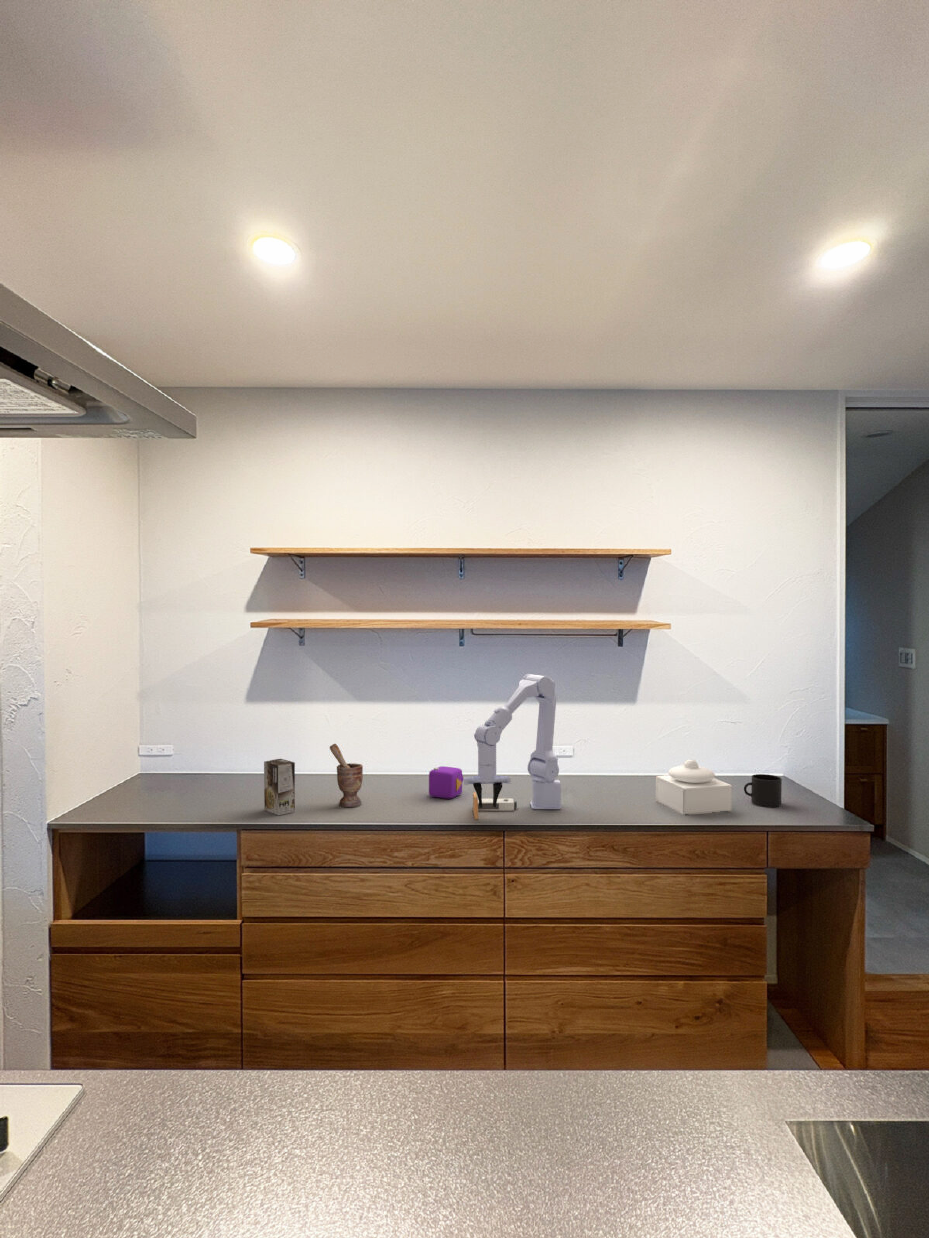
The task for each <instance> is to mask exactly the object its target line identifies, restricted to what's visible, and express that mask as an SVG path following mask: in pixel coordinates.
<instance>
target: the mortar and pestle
mask: <svg viewBox="0 0 929 1238" xmlns="http://www.w3.org/2000/svg"><path fill="white" fill-rule="evenodd" d="M329 750H330V751H331V753H332V755H333V756H334V758H335V759H336V761H338V764H339V765H337V766H336V775H337V776H336V779H337V785H338V788H339V790H340V792H341V793H342V794H343V795H342V797H341V798H340V800H339V802H338V804H339V806H340V807H344V808H351V807H353V808H354V807H355V808H356V807H359V806H361V804H362V801H361V800H362V799H361V798H360V797H359V796H358V792H360V790H361V788H362V783H363V775H364V774H363V770H364V769H363V767H364V766H363V764H362V763H352V762H350V763H347V762H346V760H345V758H344V757H343V754H342V752H341V750H340V747H339V746H338V745H337V744H336V743H333V744H331V745H330V746H329Z"/></svg>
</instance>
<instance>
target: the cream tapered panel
mask: <svg viewBox="0 0 929 1238" xmlns="http://www.w3.org/2000/svg"><path fill="white" fill-rule="evenodd" d="M517 808H518V803H517V800H514V798H498V799H497V803H496V807H493V798H482V808H480V806H479V800H478V812H479V811H482V812H483V811H487V812H488V811H492V812H493V811H497V812H499V811H502V812H503V811H504V812H505V811H506V812H507V811H508V812H509V811H513V812H514V811H515V809H517Z"/></svg>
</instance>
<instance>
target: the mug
mask: <svg viewBox="0 0 929 1238" xmlns="http://www.w3.org/2000/svg"><path fill="white" fill-rule="evenodd" d="M782 780H783V779H782V777H780V776H777V775H773V774H764V773H763V774H762V773H758V774H752V775H751V781H750V782H747V783H745V784H744V787H743V792H744V794H745V795H746V796H748V797H751V798H750V799H751V804H752V805H755V806H757V807H763V808H778V807H781V805H782V792H783V791H782V789H783V788H782V787H783V786H782V785H783V784H782ZM748 786H750V787H751V792H748V790H747V787H748Z"/></svg>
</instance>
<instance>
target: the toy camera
mask: <svg viewBox="0 0 929 1238" xmlns="http://www.w3.org/2000/svg"><path fill="white" fill-rule="evenodd" d="M463 783H464V776H463V770H462V769H461V768H459V767H451V766H438V767H433V769H431V770H430V771H429V773H428V794H429V796H430V797H432V798H433V797H434V798H439V799H448V800H452V799H453V798H456V797H458V796H459V795H461V794H462V792H463Z"/></svg>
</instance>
